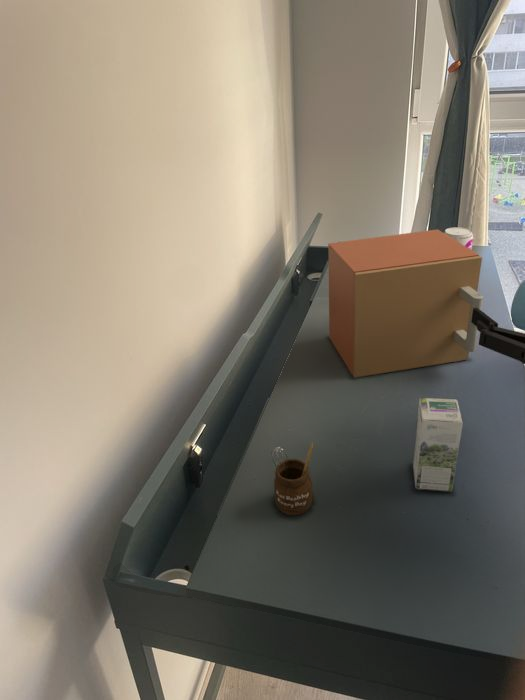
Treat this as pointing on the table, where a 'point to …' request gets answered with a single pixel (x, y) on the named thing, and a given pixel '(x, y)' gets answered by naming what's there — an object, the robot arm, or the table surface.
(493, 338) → the robot arm
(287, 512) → the utensil holder
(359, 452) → the table surface
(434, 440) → the syrup box
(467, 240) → the supplement can
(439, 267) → the cabinet door
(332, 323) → the cabinet
